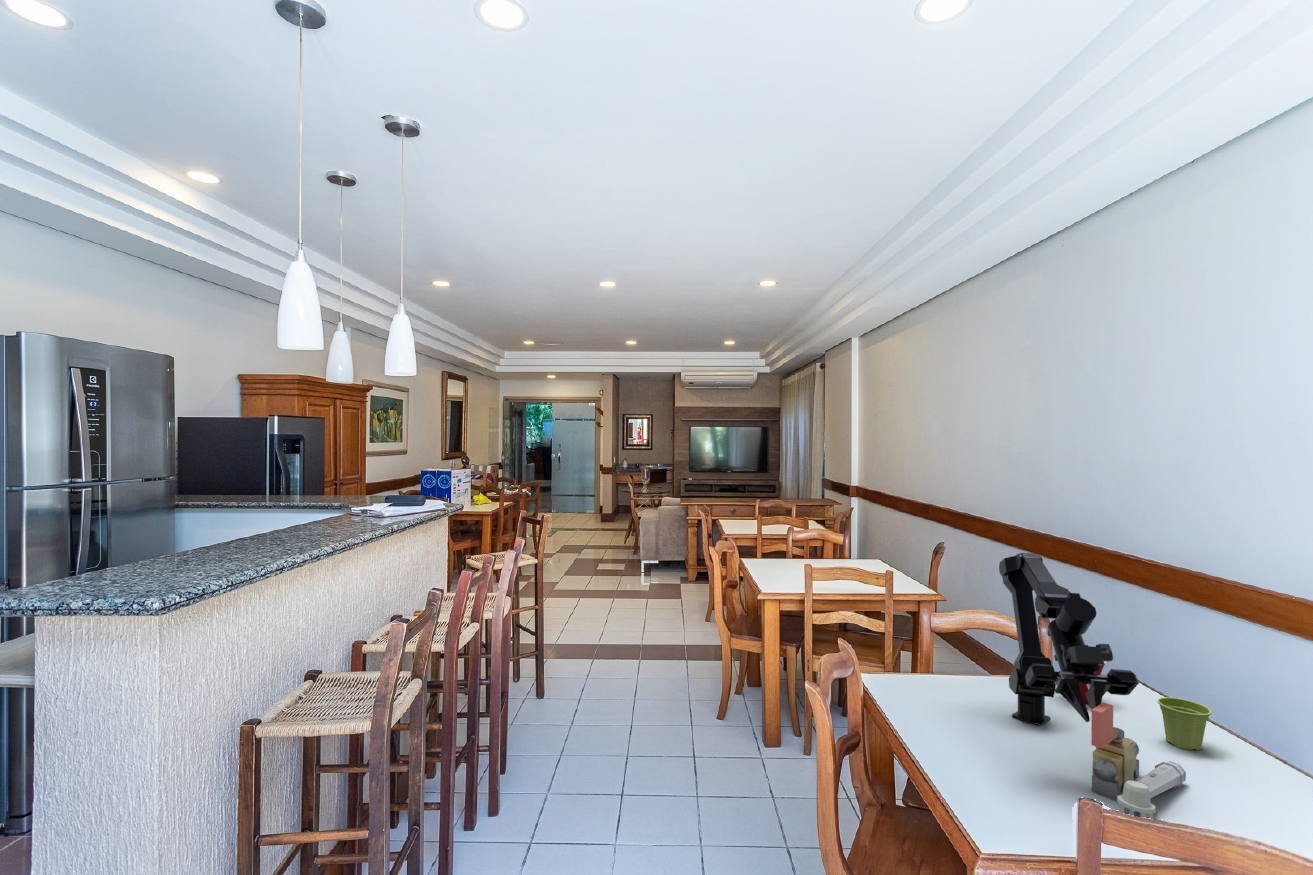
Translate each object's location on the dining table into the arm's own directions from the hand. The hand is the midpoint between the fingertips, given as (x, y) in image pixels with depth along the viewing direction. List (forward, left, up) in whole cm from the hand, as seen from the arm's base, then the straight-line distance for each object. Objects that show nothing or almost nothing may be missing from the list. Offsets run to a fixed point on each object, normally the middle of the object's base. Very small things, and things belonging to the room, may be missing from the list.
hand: (1093, 721), depth 123 cm
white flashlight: (-4, +8, -13) cm, 16 cm away
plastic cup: (-49, -16, -13) cm, 54 cm away
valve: (-5, +2, -13) cm, 14 cm away
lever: (-1, +2, -3) cm, 4 cm away
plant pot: (-38, +7, -13) cm, 41 cm away
